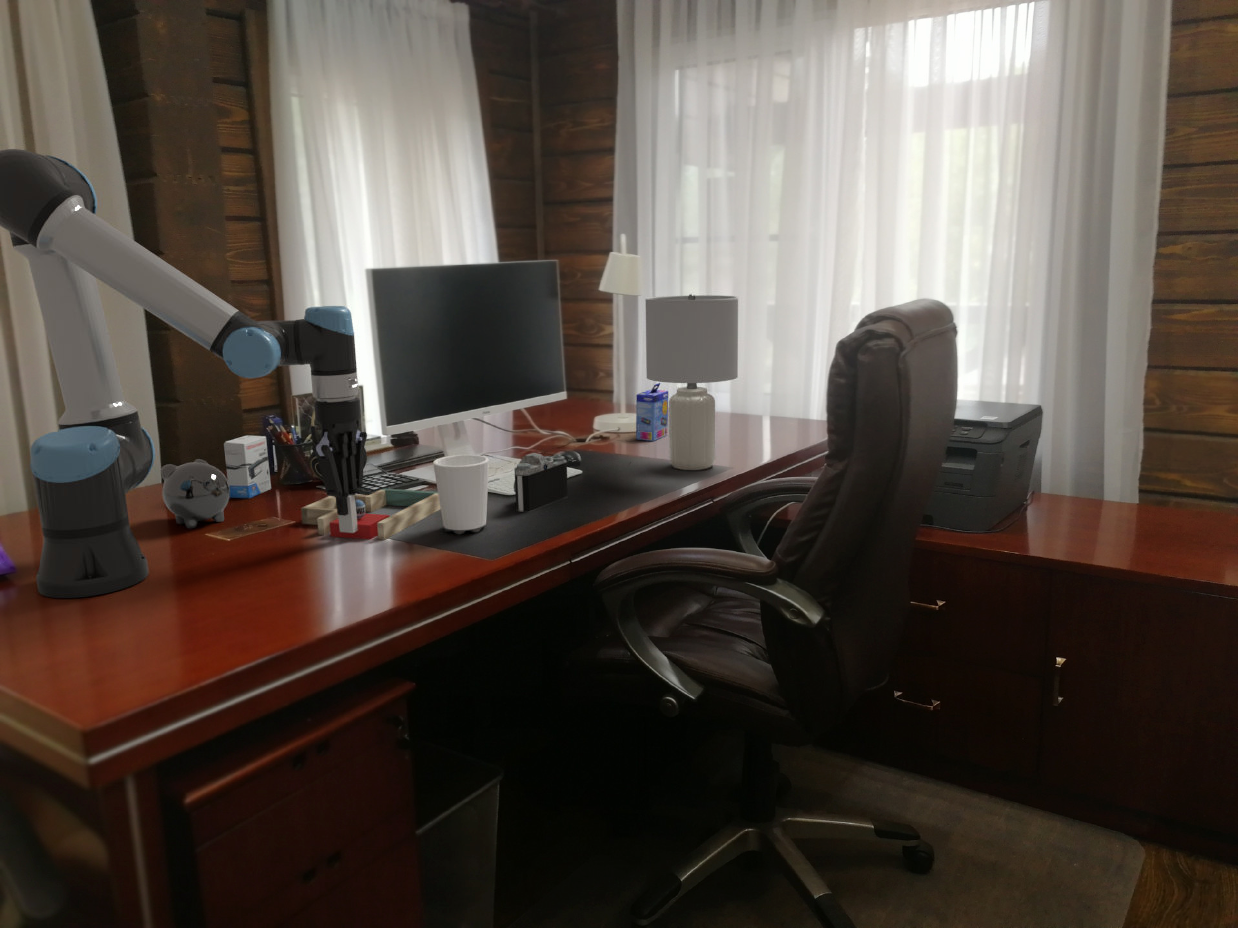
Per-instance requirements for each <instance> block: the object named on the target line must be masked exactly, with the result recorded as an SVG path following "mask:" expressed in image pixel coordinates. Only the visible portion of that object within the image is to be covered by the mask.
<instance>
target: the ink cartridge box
mask: <svg viewBox="0 0 1238 928" xmlns="http://www.w3.org/2000/svg"><path fill="white" fill-rule="evenodd" d="M660 386H661V382H659V383H656V384H654V385H653V386H652V388H651V389H649V390H645V391H642V392H640V393H637V394H636V398H635V401H636V407H635V409H636V410H635V411H636V412H635V414H636V415H635V418H636V419H635V420H636V421H635V440H638V441H647V442H655V441H657V440H659V439H661V438H664V437H667V436H668V429H669V391H668V390H665V389H664V390H663V389H662V390H661V389H659V387H660Z"/></svg>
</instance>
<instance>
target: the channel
mask: <svg viewBox="0 0 1238 928" xmlns="http://www.w3.org/2000/svg"><path fill="white" fill-rule="evenodd" d="M355 497H356V500H361V501H363V502H364V504H365V507H366V512H365V513H373V512H375V511H377V510H379V509H381V508H384V507H385V506H398V507H400V506H401V507H405V508H404V509H401V510H400V511H397V512H396V513H394V514H392V515H389V517H388V518H386V519H384V520H382V521H380V522H378V523H377V527H378V536H377V538H378V540H384V541H385V540H387V539H389V538H390V537H393V536H394V535H396V534H398V533H400V532H401V531H403V530H405V529H407V528H409V527H410V526H412V525H415V524H416V523H418V522H420V521H421V520H423V519H426V518H427V517H429V516H430V515H432V514H434V513H436V512H438V511H441V508H440V502H439V495H438V491H431V490H430V491H429V490H428V491H427V490H416V489H415V490H413V489H395V488H381V489H379V490H377V491H375V492H372V493H371V494H370V493H369V495H368V494H355ZM300 510H301V511H300V512H301V522H302V523H301V524H302V525H314V526H317V531H318V535H321V536H325V535H327V534H330V522H332V521H334V520H336V519H338V513H337V505H336V498H335V497H334V496H328V495H327V496H326V497H324V498H322V499H319V500H317V501H315V502H313V503H310V504H307V505H305V506H303V507H301V508H300Z"/></svg>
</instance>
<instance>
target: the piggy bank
mask: <svg viewBox="0 0 1238 928" xmlns="http://www.w3.org/2000/svg"><path fill="white" fill-rule="evenodd" d="M160 476H161V478H162V479H163V481H164V482H163V485H162V491H161V493H162V499H163V502H164V505H166V507H167V509H168V510H169V511H170V512H171V513H173V514H174V515H175V521H176V523H177V524H178V525H183V524H185V525H184V526H185V527H186V528H187V529H189V530H190V529H195V528H196V527H197V526H198V523H199V521H206V520H210V519H212V521H214V523H221V522H224V520H225V516H224V515H225V514H224V510H225V508H226V507H227V505H228V503H229V501H230V486H229V482H228V478H227V475H225V473H223V472H222V470H220V469H219V468H217V467H216V466H213V465H211V464H209V463H208V462H207V461H206V460H203V459H202V458H201V459H200V458H197V459H195V460H194V461H193V462H192V461H191V462H186V463H184V464H180V465H174V464H171V463H169V464H165V465H163V466H162V467H161V469H160Z"/></svg>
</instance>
